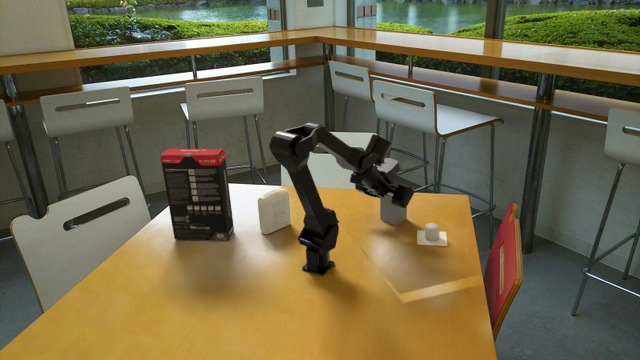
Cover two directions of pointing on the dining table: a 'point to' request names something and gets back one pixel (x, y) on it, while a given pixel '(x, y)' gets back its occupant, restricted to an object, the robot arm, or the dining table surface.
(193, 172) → the graphics card box
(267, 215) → the photo printer
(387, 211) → the tall grey box
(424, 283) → the dining table surface
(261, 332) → the dining table surface
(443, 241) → the base
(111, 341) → the dining table surface
